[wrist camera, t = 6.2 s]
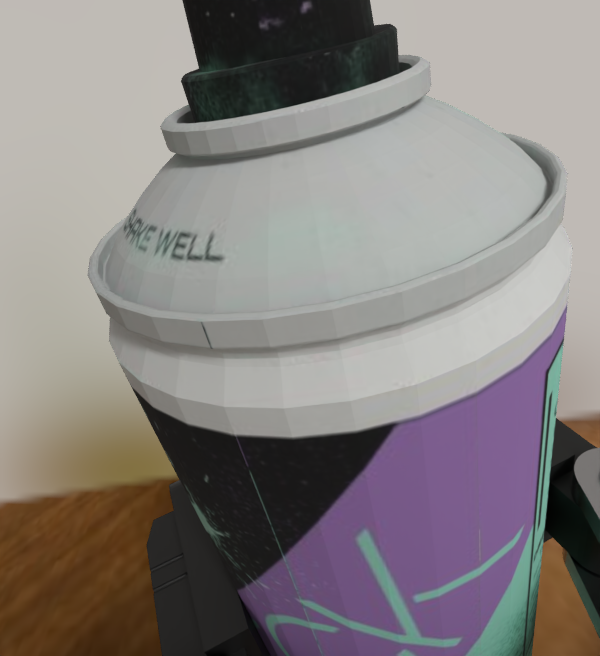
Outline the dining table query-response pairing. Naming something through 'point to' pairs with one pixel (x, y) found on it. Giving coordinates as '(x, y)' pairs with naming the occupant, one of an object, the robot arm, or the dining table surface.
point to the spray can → (348, 334)
